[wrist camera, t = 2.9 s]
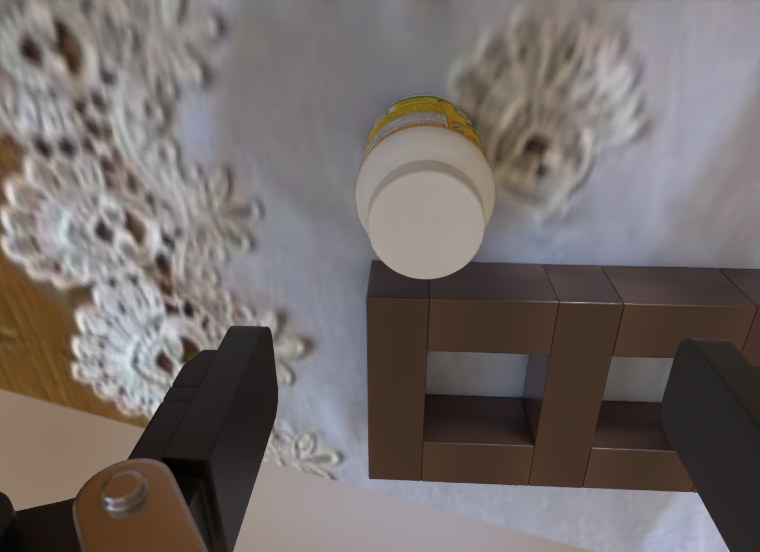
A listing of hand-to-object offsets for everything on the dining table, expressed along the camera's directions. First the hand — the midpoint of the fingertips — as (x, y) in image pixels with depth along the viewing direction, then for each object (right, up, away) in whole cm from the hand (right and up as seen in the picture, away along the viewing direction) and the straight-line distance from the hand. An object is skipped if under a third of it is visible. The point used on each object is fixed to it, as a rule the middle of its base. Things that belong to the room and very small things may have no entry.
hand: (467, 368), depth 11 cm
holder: (+8, -3, +21) cm, 23 cm away
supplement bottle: (0, +8, +16) cm, 18 cm away
